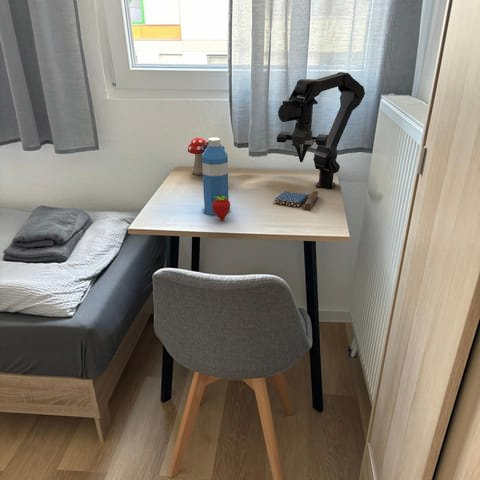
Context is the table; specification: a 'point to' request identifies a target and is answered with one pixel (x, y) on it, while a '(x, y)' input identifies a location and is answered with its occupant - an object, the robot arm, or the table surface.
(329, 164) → the robot arm
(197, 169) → the decorative mushroom
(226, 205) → the strawberry
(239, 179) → the table surface
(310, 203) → the bar
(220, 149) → the water bottle
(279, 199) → the woven mat
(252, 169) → the table surface
